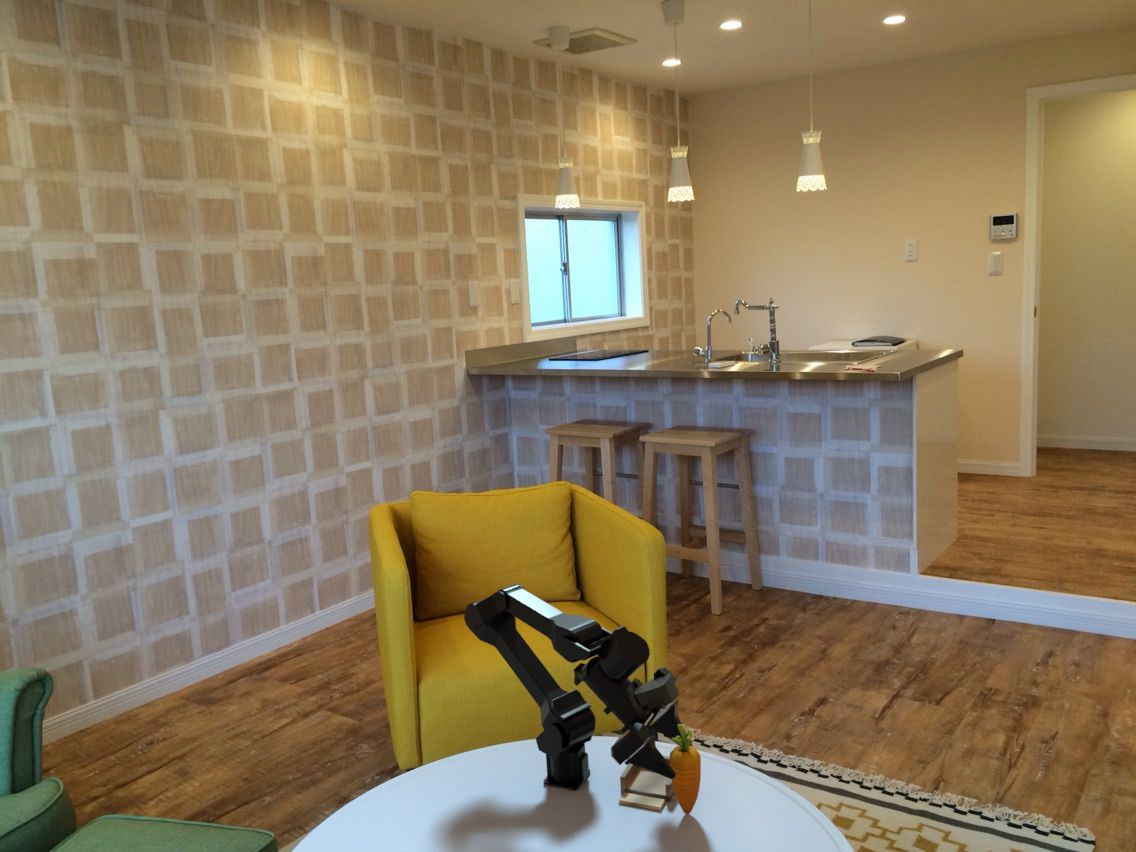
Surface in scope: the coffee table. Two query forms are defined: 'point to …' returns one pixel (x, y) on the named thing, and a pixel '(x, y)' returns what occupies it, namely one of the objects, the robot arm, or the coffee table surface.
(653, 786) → the wooden tray
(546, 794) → the coffee table surface
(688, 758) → the carrot
